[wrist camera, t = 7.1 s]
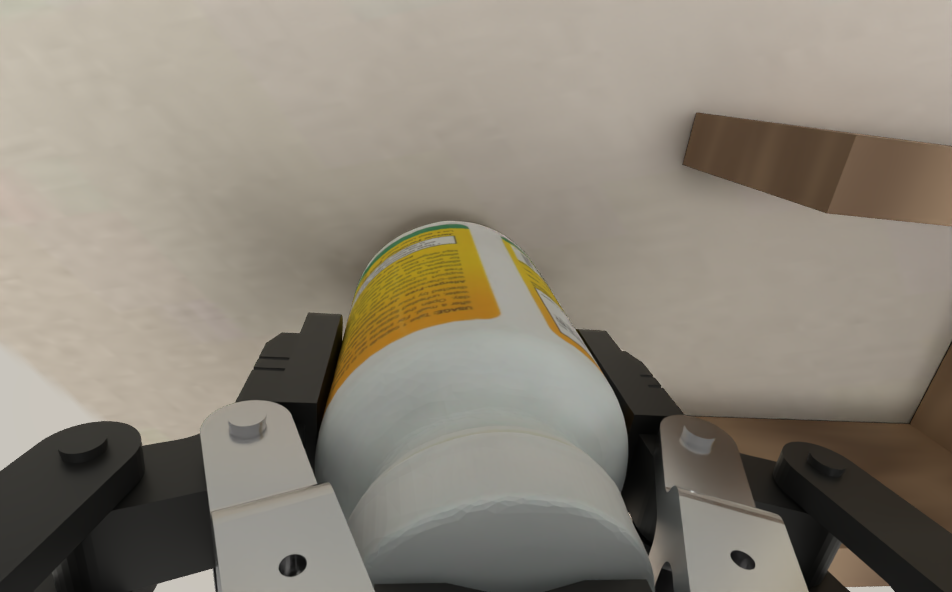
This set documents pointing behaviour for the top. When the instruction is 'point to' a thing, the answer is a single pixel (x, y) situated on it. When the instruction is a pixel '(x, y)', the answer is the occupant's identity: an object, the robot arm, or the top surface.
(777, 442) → the walnut open box
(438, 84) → the top surface
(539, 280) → the supplement bottle
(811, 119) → the top surface
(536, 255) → the top surface
